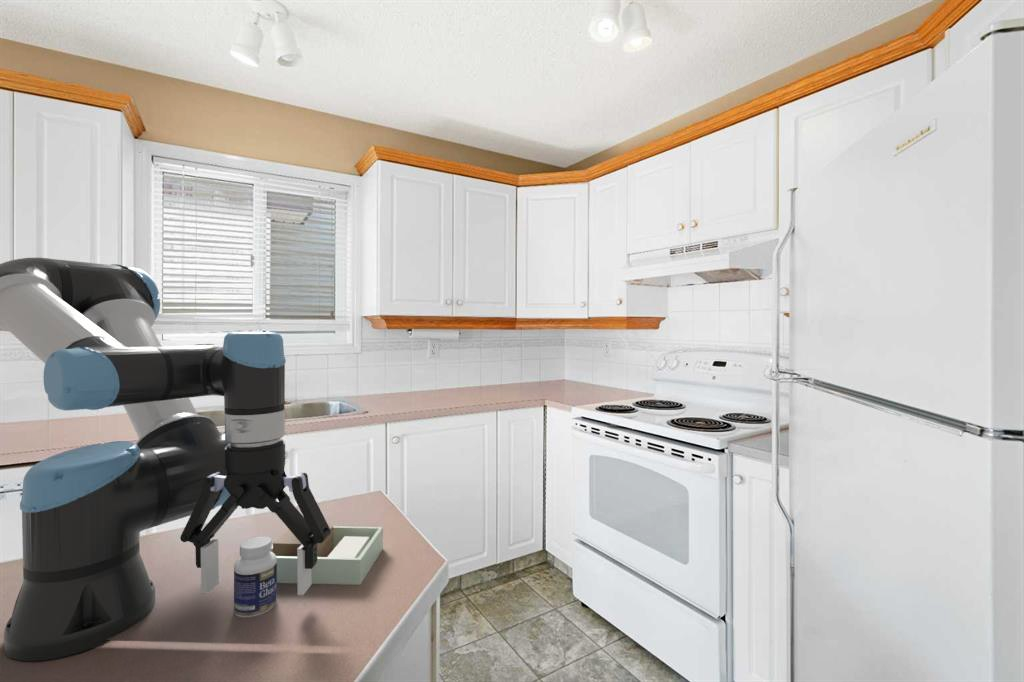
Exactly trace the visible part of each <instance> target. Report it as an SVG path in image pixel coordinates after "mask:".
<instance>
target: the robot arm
mask: <svg viewBox="0 0 1024 682" xmlns="http://www.w3.org/2000/svg"><path fill="white" fill-rule="evenodd" d="M159 294H160V292H159V289H158V286H157V284H156V282H155V281H154V279H153V277H151V276H150V275H149V274H148V273H147V272H146V271H144V270H142V269H141V268H137V267H134V266H126V265H123V264H119V263H118V264H116V263H115V264H114V263H113V264H105V263H96V262H94V263H93V262H85V261H76V260H66V259H55V258H49V257H39V256H38V257H25V258H23V257H22V258H17V259H11V260H8V261H5V262H3V263H2V262H1V263H0V330H1V331H5V332H9V333H11V334H12V335H13V336H14V337H16V339H17V340H18V341H20V343H22V344H23V345H24V346H25V347H26V348H27V349H28V350H30V352H32V353H33V355H35V356H36V357H37V358H38V359H39V360H41V362H43V363H44V368H43V376H42V377H43V387H44V388H43V389H44V391H45V393H46V395H47V398H48V401H49V403H50V404H51V405H52V406H53V407H54V408H55V409H57V410H62V411H78V410H80V411H81V410H90V411H95V410H96V411H97V410H102V409H105V408H111V407H120V406H123V409H124V410H125V412H126V414H127V416H128V419H129V421H130V423H131V425H132V427H133V429H134V432H135V433H136V435H137V438H138V440H137V441H136V442H134V441H129V440H128V441H127V440H120V441H119V440H118V441H109V442H105V443H95V444H89V445H86V446H85V445H84V446H80V447H76V448H72V449H68V450H66V451H63V452H60V453H56V454H54V455H51V456H49V457H47V458H45V459H42V460H41V461H39V462H37V463H35V464H34V465H32V466H31V467H30V468H29V469H28V470H27V472H26V473H25V475H24V477H23V480H22V491H21V500H20V502H19V509H20V510H21V520H22V521H21V524H22V526H21V528H22V530H21V531H22V533H21V534H22V570H23V573H22V577H23V579H22V585H21V587H20V589H19V593H18V595H17V598H16V600H15V603H14V606H13V609H12V613H11V617H10V618H9V619H8V621H7V623H6V624H5V627H4V631H3V651H4V653H5V655H6V656H7V657H9V658H11V659H14V660H17V661H26V662H36V661H47V660H52V659H54V660H55V659H58V658H59V659H60V658H64V657H68V656H72V655H75V654H78V653H81V652H84V651H87V650H88V651H89V650H91V649H94V648H96V647H99V646H101V645H104V644H106V643H108V642H111V641H112V639H111V638H113V637H115V636H118V635H120V634H121V633H123V632H125V631H127V630H128V629H130V628H132V627H134V626H135V625H136V624H138V623H139V622H141V621H142V620H144V618H145V617H147V616H148V615H149V613H151V611H152V610H153V609H154V607H155V605H156V587H155V584H154V582H153V581H152V579H150V577H149V574H148V572H147V569H146V566H145V563H144V561H143V558H142V556H141V552H140V551H141V550H140V536H141V532H142V531H145V530H147V529H152V528H155V527H157V526H161V525H165V524H168V523H170V522H174V521H176V520H177V521H178V520H180V519H184V518H187V517H189V518H188V520H187V523H185V524H186V525H185V527H184V528H183V531H182V532H181V535H180V541H181V542H182V543H187V542H189V543H192V544H193V546H194V547H195V565H196V568H197V569H200V588H201V590H200V594H201V595H207V594H208V593H209V592H211V591H212V590H213V589H215V587H217V586H218V585H219V583H220V582H219V581H220V578H219V577H220V575H219V574H220V570H219V567H220V566H219V561H220V559H219V539H213V538H214V537H216V534H217V532H219V530H220V529H221V528H222V527H223V525H224V524H225V523H226V521H227V520H228V519H229V518H230V517H231V516H232V515H233V513H234V512H235V511H236V510H237V508H238V507H240V508H241V509H245V510H247V509H250V508H251V509H252V508H253V509H258V510H263V509H265V508H267V509H268V510H269V511H270V512H271V513H273V514H274V513H275V515H277V518H279V519H280V520H281V522H282V523H283V524H284V525H285V526H286V527H287V529H288V530H290V531H291V532H292V533H293V534H294V535H295V537H296V538H297V539H298V540H299V541H300V543H301V544H302V545H301V546H300V547H299V548H298V549H297V579H298V583H297V596H304V594H306V592H307V591H308V589H309V588H310V587H311V586H312V585H313V584H312V583H311V569H312V568H313V567H314V566H315V564H316V563H317V543H322V542H323V541H324V540H325V539H326V538H327V537H328V536H329V535H330V534H331V530H330V528H329V526H330V525H329V524H328V523H327V520H326V518H325V517H324V515H323V512H322V511H321V508H320V507H319V504H318V502H317V501H316V499H315V496H314V494H313V493H312V490H311V489H310V484H309V477H308V476H309V475H308V474H307V472H301V473H299V474H298V475H289V476H287V474H286V471H285V467H286V466H285V465H286V441H285V440H284V439H282V438H283V437H285V435H286V419H285V418H286V416H285V415H286V413H285V410H286V409H285V402H286V401H285V400H286V399H285V395H286V394H285V393H286V392H285V391H286V387H285V385H286V383H285V382H286V381H285V380H286V379H285V378H286V377H285V376H286V375H285V374H286V361H287V359H286V356H285V351H284V350H285V348H284V338H283V336H282V335H281V334H280V333H278V332H258V331H257V332H254V331H253V332H251V331H250V332H228V333H227V334H226V335H225V336H224V338H223V343H222V344H223V345H222V344H221V345H220V344H219V345H218V344H213V343H204V344H203V343H202V344H200V343H199V344H198V343H196V344H193V345H176V346H175V345H172V346H171V345H168V346H162V344H161V343H160V341H159V339H158V337H157V335H156V333H155V331H154V329H153V326H154V324H155V321H156V319H157V318H158V316H159V314H160V310H161V299H160V298H159ZM206 396H208V397H209V396H218V397H223V399H224V400H223V401H224V407H223V408H224V409H223V410H224V432H220V431H219V429H218V426H217V425H216V423H215V422H214V421H213V419H212V418H211V417H209V416H207V415H202V414H199V413H198V412H197V410H196V408H195V406H194V405H193V403H192V401H191V399H190V398H198V397H199V398H200V397H206ZM286 487H288V490H289V492H291V493H292V495H293V497H294V500H295V502H296V504H297V506H298V508H297V507H296V506H295V505H294V504H293V503H292V502H291V498H290V496H289V495H288V494H287V493H286V491H285V488H286ZM277 500H278V501H277ZM219 506H220V508H219V509H218V511H217V512H216V513H215V514H214V515H213V516H212V518H211V519H210V520H209V522H207V524H206V525H205V523H206V521H207V519H208V517H209V515H210V513H211V511H212V510H214V509H215V508H218V507H219ZM298 509H299V510H300V511H299V510H298ZM204 525H205V526H204ZM211 539H212V540H211Z"/></svg>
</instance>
